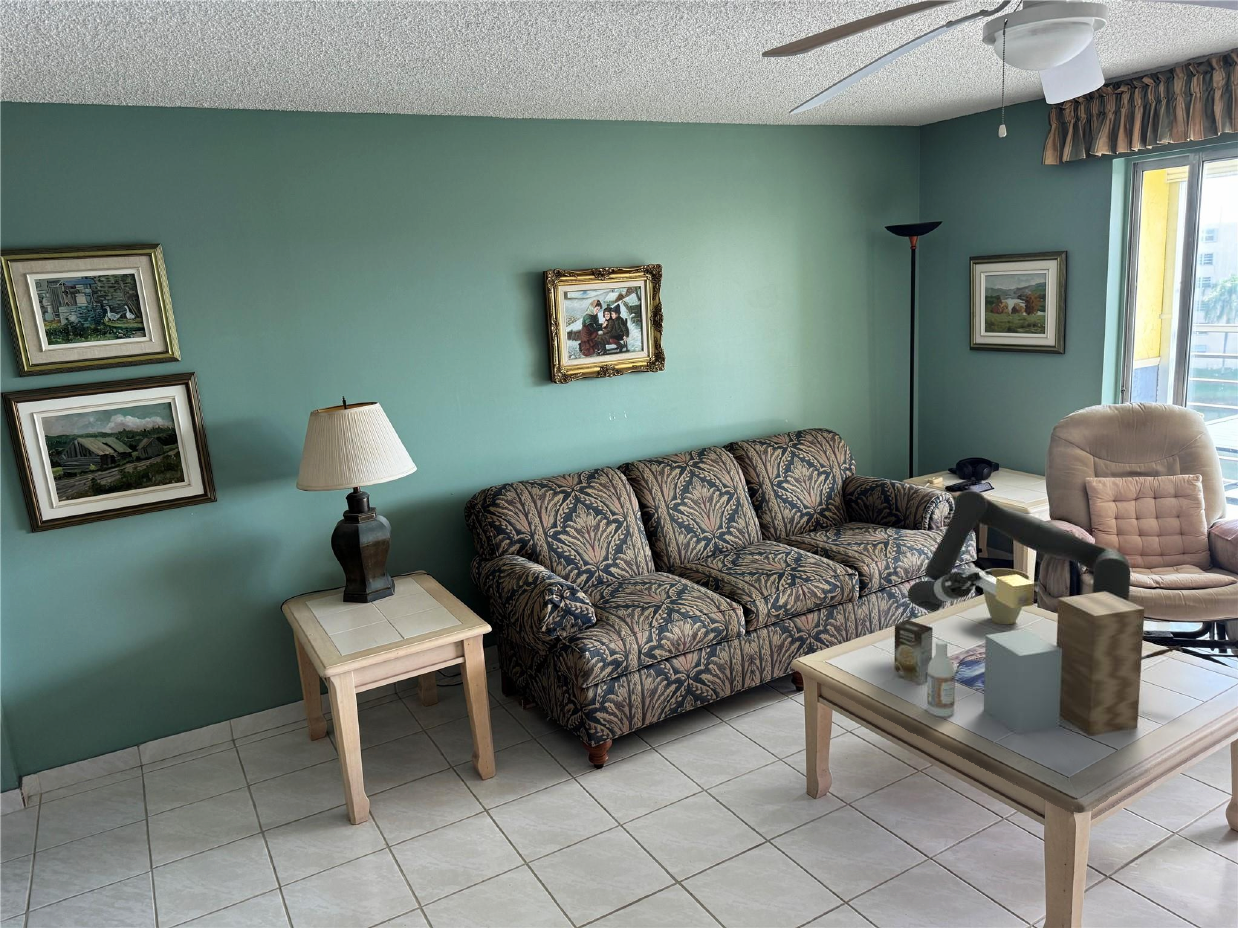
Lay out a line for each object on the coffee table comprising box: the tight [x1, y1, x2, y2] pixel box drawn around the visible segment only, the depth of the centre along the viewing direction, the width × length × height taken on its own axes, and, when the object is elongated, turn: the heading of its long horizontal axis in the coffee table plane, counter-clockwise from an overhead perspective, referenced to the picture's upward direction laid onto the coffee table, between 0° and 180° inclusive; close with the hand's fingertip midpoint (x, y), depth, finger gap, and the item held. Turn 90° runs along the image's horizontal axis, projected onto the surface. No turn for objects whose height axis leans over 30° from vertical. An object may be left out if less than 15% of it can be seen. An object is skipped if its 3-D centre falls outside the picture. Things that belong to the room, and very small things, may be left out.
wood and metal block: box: [964, 566, 1035, 608], centre depth 235 cm, size 6×23×6 cm, turn 12°
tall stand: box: [1056, 591, 1145, 737], centre depth 225 cm, size 14×13×32 cm
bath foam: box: [926, 639, 956, 718], centre depth 235 cm, size 7×7×20 cm
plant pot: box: [982, 567, 1031, 625], centre depth 293 cm, size 15×15×16 cm
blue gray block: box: [983, 628, 1062, 736], centre depth 229 cm, size 12×14×22 cm
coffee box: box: [893, 618, 934, 686], centre depth 256 cm, size 9×6×16 cm
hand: (984, 574), depth 240 cm, fingers closed on wood and metal block, 3 cm apart
